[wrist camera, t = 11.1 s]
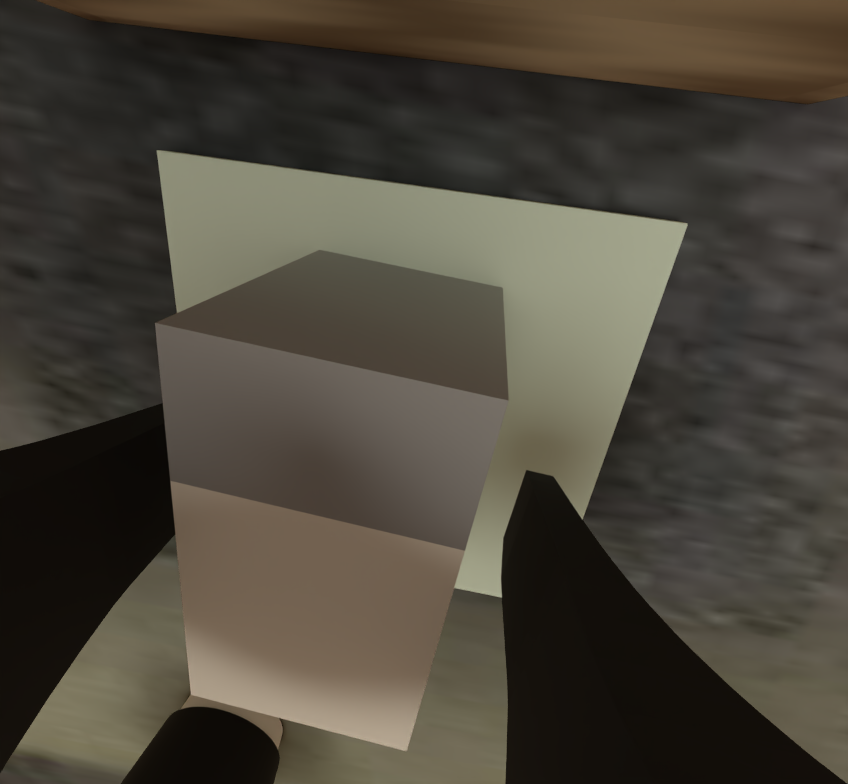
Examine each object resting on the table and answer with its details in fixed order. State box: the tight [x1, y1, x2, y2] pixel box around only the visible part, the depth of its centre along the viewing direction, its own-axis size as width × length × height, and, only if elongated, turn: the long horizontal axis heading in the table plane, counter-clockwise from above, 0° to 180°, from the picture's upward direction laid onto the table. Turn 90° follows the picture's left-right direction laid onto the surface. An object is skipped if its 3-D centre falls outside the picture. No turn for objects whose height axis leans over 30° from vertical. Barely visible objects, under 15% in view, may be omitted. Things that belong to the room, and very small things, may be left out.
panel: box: [157, 150, 688, 597], centre depth 13 cm, size 12×12×1 cm
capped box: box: [155, 250, 509, 751], centre depth 10 cm, size 4×8×6 cm, turn 170°
